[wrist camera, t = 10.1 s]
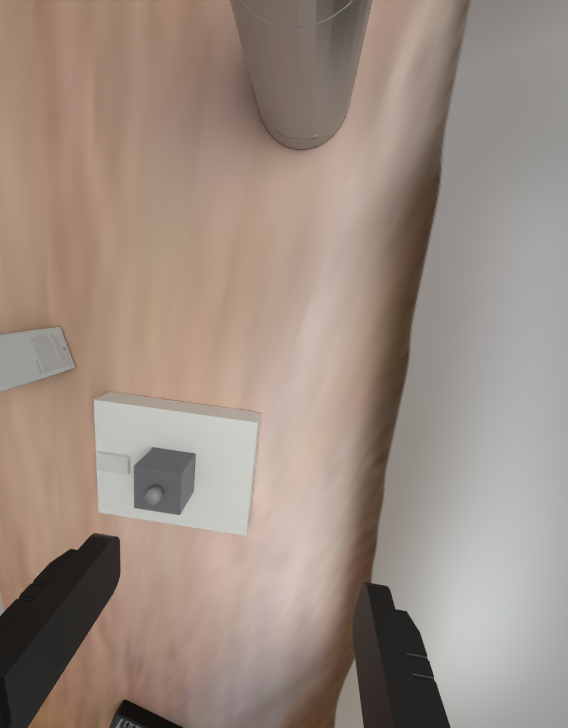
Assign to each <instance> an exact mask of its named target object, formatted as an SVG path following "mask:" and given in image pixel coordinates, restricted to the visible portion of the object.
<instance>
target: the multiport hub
mask: <svg viewBox="0 0 568 728" xmlns="http://www.w3.org/2000/svg"><path fill="white" fill-rule="evenodd" d="M110 728H183V727H181V726H178V725H176V724H174V723H172V722H170V721H168V720H166V719H164V718H162V717H160V716H158V715H156V714H154V713H152V712H150V711H148V710H146V709H144V708H142V707H140V706H138V705H136V704H134V703H132V702H130V701H127V700H123V702H122V703H121V705H120V706H119V708H118V710H117V711H116V713H115V716H114V718H113V720H112V722H111V724H110Z"/></svg>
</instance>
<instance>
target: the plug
mask: <svg viewBox="0 0 568 728" xmlns="http://www.w3.org/2000/svg"><path fill="white" fill-rule="evenodd" d="M195 458H196V454H195V453H188V452H181V451H175V450H168V449H161V448H154V447H153V448H152V449H151V450H150V451H149V452H148V453H147V454H146V455H145V456H144V457H143V458H142V459H141V460H140V461H139V462H137V463H136V464H135V465H134V508H137V509H143V510H149V511H156V512H162V513H169V514H175V515H181V513H182V511H183V509H184V508H185V506H186V504H187V502H188V501H189V499H190V497H191V496H192V494H193V492H194V479H195Z"/></svg>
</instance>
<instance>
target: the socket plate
mask: <svg viewBox="0 0 568 728" xmlns="http://www.w3.org/2000/svg"><path fill="white" fill-rule="evenodd" d="M94 415H95V440H96V464H97V488H98V512H99V513H106V514H112V515H118V516H124V517H131V518H137V519H143V520H149V521H156V522H162V523H168V524H174V525H181V526H187V527H193V528H199V529H206V530H212V531H218V532H224V533H231V534H237V535H243V536H246V535H247V531H248V527H249V523H250V520H251V511H252V501H253V491H254V481H255V472H256V462H257V452H258V442H259V433H260V423H261V413H260V412H253V411H245V410H238V409H231V408H224V407H216V406H209V405H202V404H195V403H188V402H180V401H173V400H166V399H159V398H151V397H144V396H137V395H130V394H122V393H115V392H109V393H107V394H105V395H103V396H101V397H98V398H96V399H94ZM153 447H154V448H161V449H168V450H175V451H181V452H188V453H195V454H196V458H195V479H194V492H193V494H192V496H191V497H190V499H189V501H188V502H187V504H186V506H185V508H184V509H183V511H182V513H181V515H175V514H169V513H162V512H156V511H149V510H143V509H137V508H134V465H135V464H136V463H137V462H139V461H140V460H141V459H142V458H143V457H144V456H145V455H146V454H147V453H148V452H149V451H150V450H151V449H152V448H153Z"/></svg>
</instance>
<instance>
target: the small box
mask: <svg viewBox="0 0 568 728" xmlns="http://www.w3.org/2000/svg"><path fill="white" fill-rule="evenodd" d="M74 368H75V364H74V362H73V359H72V356H71V354H70V351H69V348H68V346H67V343H66V340H65V338H64V335H63V332H62V330H61V327H52V328H44V329H37V330H29V331H22V332H14V333H7V334H0V392H2V391H5V390H8V389H11V388H15V387H18V386H21V385H24V384H27V383H31V382H34V381H37V380H40V379H43V378H47V377H50V376H53V375H56V374H59V373H62V372H65V371H68V370H71V369H74Z"/></svg>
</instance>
